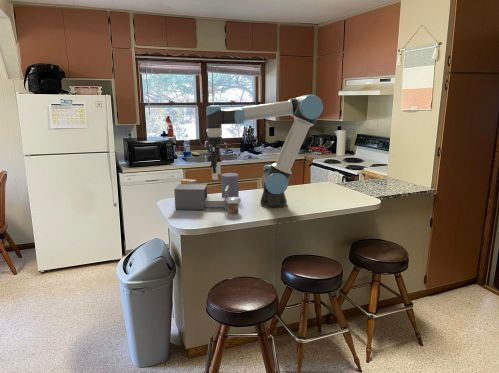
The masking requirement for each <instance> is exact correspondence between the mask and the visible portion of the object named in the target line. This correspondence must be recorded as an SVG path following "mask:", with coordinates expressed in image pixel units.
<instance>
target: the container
mask: <svg viewBox="0 0 499 373" xmlns="http://www.w3.org/2000/svg"><path fill="white" fill-rule="evenodd" d="M220 178H221V179H220V181H221V184H220V185H221V198H225V189H226V186H229V197H239V198H240V195H239V191H240V190H239V187H240V186H239V173H235V172H226V173H221V174H220Z"/></svg>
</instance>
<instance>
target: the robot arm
mask: <svg viewBox="0 0 499 373" xmlns="http://www.w3.org/2000/svg"><path fill="white" fill-rule="evenodd" d="M205 111H206V112H205V113H206V115H205V117H206V130H205V132H206V133H207V144H208V145H211V147H210V156H211V157H210V165H209V168H211V178H212V180H218V179H219V177H218V176H219V175H221V174H222V172H221V171H222V170H221V169H222V168H221V163H222V162H223V161H222V159H221V149H220V145H222V144H223V136H222V135H223V127H222V126H223V125H241V124H242V125H243V124H245V122H246V121H247V122H248V121H254V120H256V121H257V120H264V119H270V118H278V117H286V116H291V117H292V118H293V120H294V121H293V122H292V125H291V127H290V129H289V132H288V134H287V136H286V138H285V140H284V142H283V145H282V148H281V150H280V152H279V153H278V156H277V159H276V161H275V162H274V163H272V164H265V165H264V166H263V169H262V171H263V190H262V191H263V192H262V193H261V198H260V202H259V204H260V206H262V207H264V208H271V209H272V208H273V209H274V208H275V209H276V208H277V209H278V208H283V207H287V204H288V203H287V202H288V200H287V197H286V195H285V192H286V190H287V189H288V187H289V181H290V178H291V176H292V173H293V172H292V170H291V169H292V167H293V165H294V163H295V161H296V158H297V157H298V154H299V151H300V150H301V148H302V145H303V143H304V141H305V138H306V136H307V134H308V132H309V129H310V127H311V128H312V127H313V126H315V124H316V122H317V119H318V118H319V117H320V116H321V115H322V112H323V111H324V105H323V101H322V100H321V98H320V97H319V96H318V95H315V94H304V95H301V96H298V97H293V98H289V99H288V100H285V101H278V102H271V103H263V104H256V105H248V106H242V107H241V106H239V107H231V108H230V109H229V108H228V109H222V107H221V106H220V105H208V106H206V108H205Z"/></svg>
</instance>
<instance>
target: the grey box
mask: <svg viewBox="0 0 499 373" xmlns="http://www.w3.org/2000/svg"><path fill="white" fill-rule="evenodd" d="M173 191H174V208H175V209H174V210H176V211H177V212H178V211H179V212H181V211H182V212H183V211H191V212H192V211H193V212H194V211H195V212H203V211H204V212H205V210H206V209H207V207H205V202H204V198H208V184H207V183H204V184H202V183H201V184H200V183H196V184H181V183H180V184H178V185H177V186H176V187H175V188H174V189H173Z"/></svg>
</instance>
